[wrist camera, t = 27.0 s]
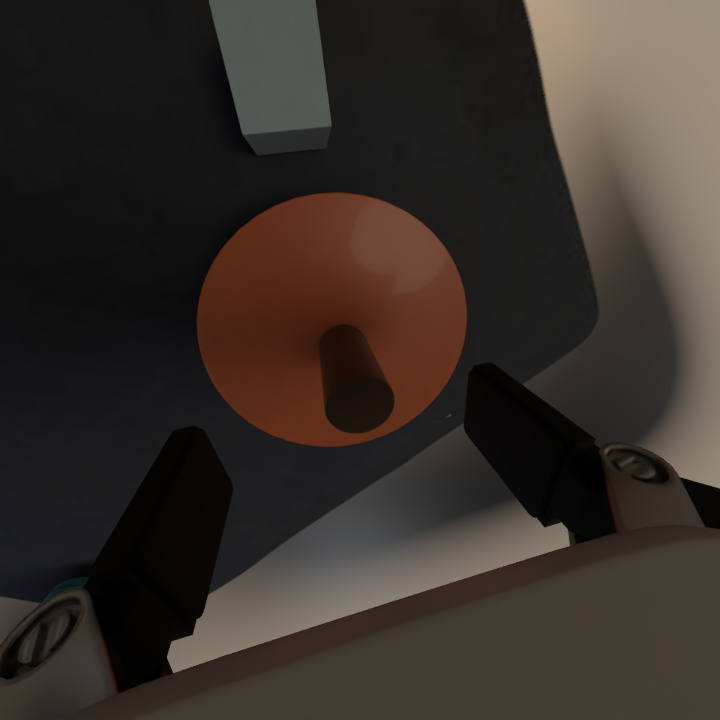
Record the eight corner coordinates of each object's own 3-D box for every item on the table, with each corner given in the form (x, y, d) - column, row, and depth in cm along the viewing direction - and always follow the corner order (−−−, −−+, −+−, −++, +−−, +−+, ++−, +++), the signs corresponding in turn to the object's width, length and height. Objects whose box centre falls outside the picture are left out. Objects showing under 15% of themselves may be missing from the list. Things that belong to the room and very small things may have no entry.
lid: (149, 215, 13) (-6, 207, 7) (466, 177, 15) (591, 139, 8) (252, 456, 21) (227, 560, 14) (453, 412, 22) (512, 489, 16)
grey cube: (233, 57, 14) (207, -2, 10) (312, 52, 15) (314, -7, 11) (257, 155, 16) (242, 134, 12) (326, 148, 17) (332, 126, 13)
